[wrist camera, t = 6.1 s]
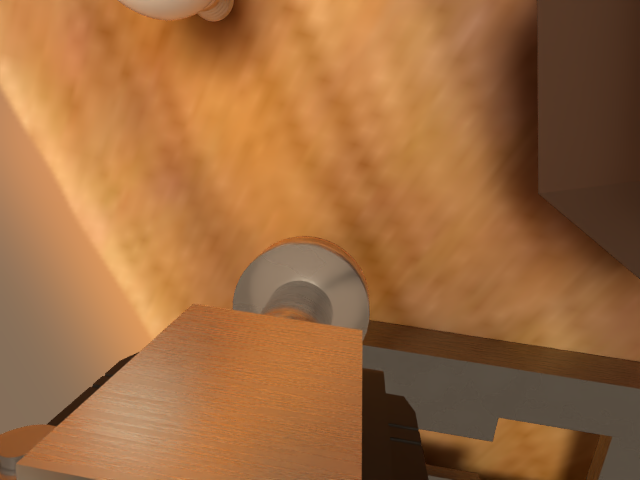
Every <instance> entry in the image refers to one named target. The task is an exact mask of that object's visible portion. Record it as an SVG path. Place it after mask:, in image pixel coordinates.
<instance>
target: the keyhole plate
mask: <svg viewBox="0 0 640 480" xmlns="http://www.w3.org/2000/svg"><path fill="white" fill-rule="evenodd" d="M362 368H367V369H373V370H379V371H383V372H384V380H385V391H386V393H388V394H394V395H400V396H404V397H405V399H406V400H407V401H408V403H409V404H410V405H411V407H412V408H413V409H414V411H415V413H416V418H417V423H418V429H422V430H428V431H434V432H440V433H445V434H451V435H457V436H463V437H469V438H475V439H480V440H486V441H493V437H494V434H495V430H496V426H497V422H498V418H505V419H510V420H516V421H522V422H528V423H534V424H540V425H546V426H552V427H558V428H564V429H570V430H576V431H582V432H588V433H594V434H600V438H599V441H598V444H597V447H596V450H595V453H594V456H593V459H592V462H591V465H590V468H589V472H588V475H587V478H586V480H640V362H636V361H630V360H623V359H617V358H610V357H604V356H597V355H591V354H584V353H578V352H571V351H565V350H558V349H552V348H545V347H539V346H532V345H526V344H519V343H513V342H506V341H500V340H493V339H487V338H480V337H474V336H467V335H461V334H454V333H448V332H441V331H435V330H428V329H422V328H415V327H409V326H402V325H396V324H389V323H383V322H376V321H370V320H369V324H368V328H367V332H366V335H365V337H364V340H363V341H362ZM426 469H427V474H428V479H429V480H479V477H478V474H477V473H472V472H467V471H461V470H455V469H450V468H444V467H438V466H433V465H427V464H426Z"/></svg>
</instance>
